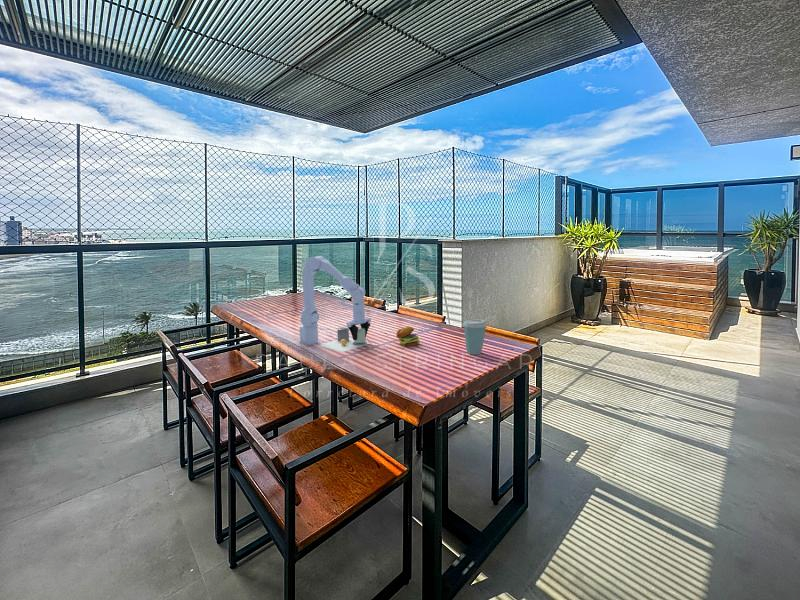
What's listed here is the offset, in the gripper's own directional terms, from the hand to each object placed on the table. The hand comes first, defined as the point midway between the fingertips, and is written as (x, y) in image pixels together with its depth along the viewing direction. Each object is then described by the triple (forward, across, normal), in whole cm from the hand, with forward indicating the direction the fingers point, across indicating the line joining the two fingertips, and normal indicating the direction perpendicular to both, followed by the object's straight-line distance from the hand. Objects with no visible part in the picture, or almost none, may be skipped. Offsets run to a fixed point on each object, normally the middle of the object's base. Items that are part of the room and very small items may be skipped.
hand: (359, 338), depth 187 cm
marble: (+1, -7, +4) cm, 8 cm away
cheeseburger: (+3, +15, -18) cm, 24 cm away
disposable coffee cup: (+3, +23, -51) cm, 56 cm away
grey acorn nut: (+2, -1, +11) cm, 11 cm away
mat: (+3, -6, +5) cm, 8 cm away
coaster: (+2, 0, 0) cm, 2 cm away
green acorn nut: (+1, 0, 0) cm, 1 cm away
